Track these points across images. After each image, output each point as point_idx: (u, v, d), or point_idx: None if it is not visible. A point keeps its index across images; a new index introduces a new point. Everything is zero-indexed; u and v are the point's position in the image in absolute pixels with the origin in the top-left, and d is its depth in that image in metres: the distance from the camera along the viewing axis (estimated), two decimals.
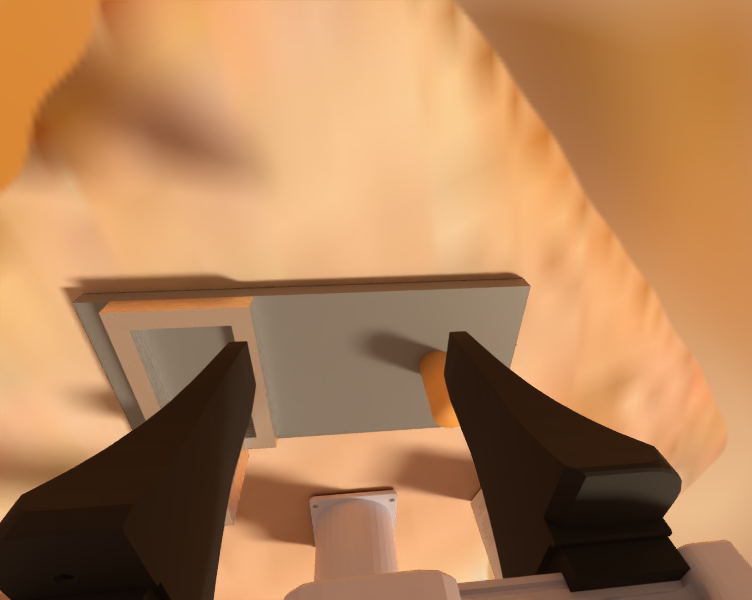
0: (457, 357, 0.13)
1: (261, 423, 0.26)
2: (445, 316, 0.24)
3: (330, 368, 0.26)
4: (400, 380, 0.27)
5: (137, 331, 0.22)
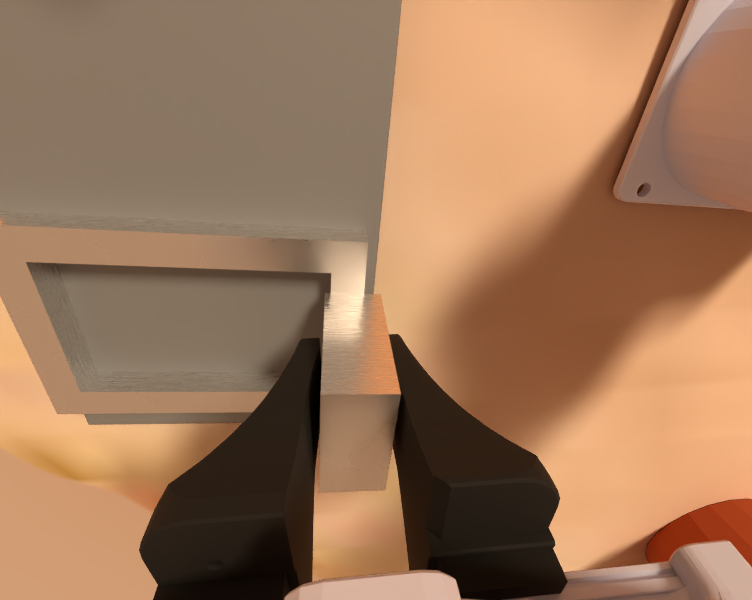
0: None
1: (290, 257, 0.13)
2: None
3: (163, 78, 0.11)
4: None
5: (104, 380, 0.15)
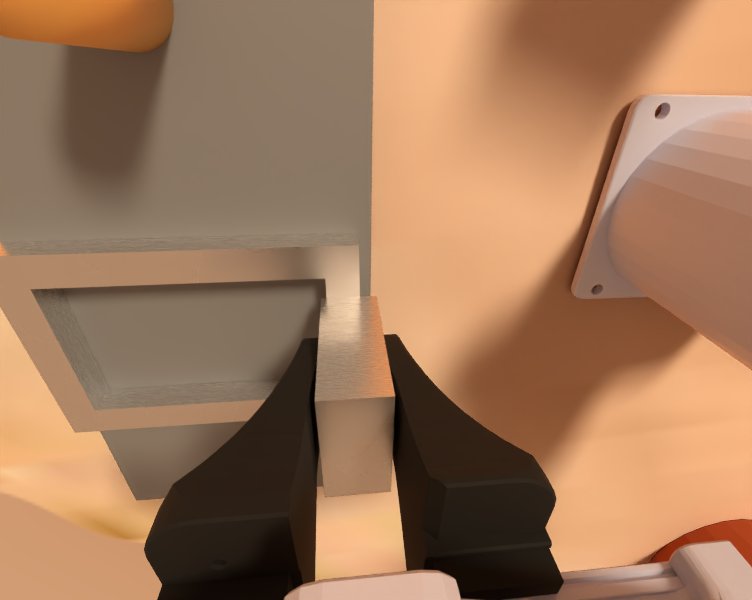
0: None
1: (283, 266, 0.13)
2: None
3: None
4: (198, 103, 0.11)
5: (117, 397, 0.16)
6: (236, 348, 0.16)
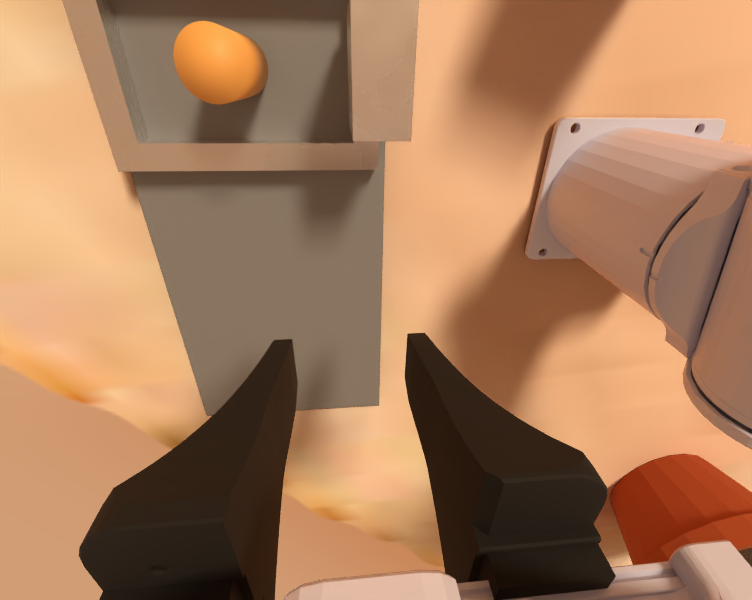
0: (413, 359, 0.12)
1: None
2: (143, 57, 0.16)
3: (261, 225, 0.20)
4: (277, 126, 0.18)
5: (156, 141, 0.17)
6: (289, 293, 0.23)
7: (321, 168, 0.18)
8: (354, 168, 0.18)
